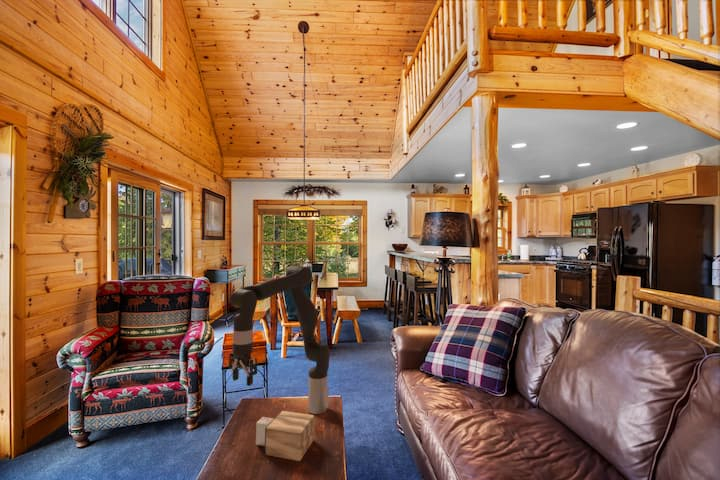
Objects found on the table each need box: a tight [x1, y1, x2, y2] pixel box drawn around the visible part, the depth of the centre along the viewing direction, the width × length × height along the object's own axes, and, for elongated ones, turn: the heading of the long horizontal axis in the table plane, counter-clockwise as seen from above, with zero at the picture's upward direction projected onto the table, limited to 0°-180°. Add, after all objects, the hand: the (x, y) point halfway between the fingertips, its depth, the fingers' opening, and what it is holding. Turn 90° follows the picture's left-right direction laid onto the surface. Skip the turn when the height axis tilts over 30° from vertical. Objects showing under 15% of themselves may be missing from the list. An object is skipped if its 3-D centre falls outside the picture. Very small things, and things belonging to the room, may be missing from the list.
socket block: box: [264, 410, 315, 462], centre depth 137 cm, size 14×15×10 cm
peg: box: [255, 416, 275, 447], centre depth 139 cm, size 5×12×9 cm, turn 76°
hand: (242, 382), depth 130 cm, fingers open, 8 cm apart
